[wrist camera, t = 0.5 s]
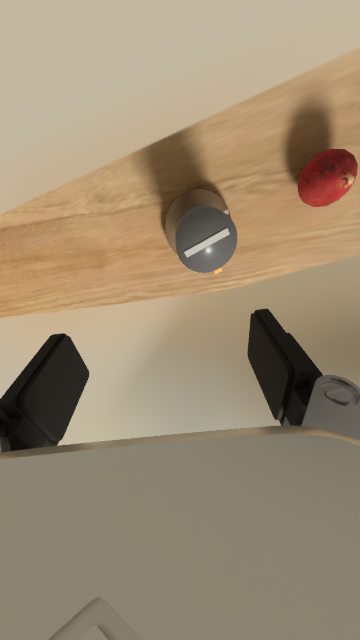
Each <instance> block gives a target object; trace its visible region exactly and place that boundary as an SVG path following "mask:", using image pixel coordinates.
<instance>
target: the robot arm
mask: <svg viewBox="0 0 360 640" xmlns="http://www.w3.org/2000/svg"><path fill="white" fill-rule="evenodd" d="M248 359H249V361H250V364H251V366H252V368H253V370H254V373H255V375H256V377H257V380H258V382H259V384H260V387H261V389H262V391H263V393H264V396H265V398H266V400H267V403H268V405H269V407H270V410H271V412H272V414H273V417H274V418H275V419H276V420H279V421H280V423H281V426H267V427H255V428H254V427H253V428H240V429H228V430H216V431H205V432H195V433H184V434H173V435H162V436H153V437H141V438H131V439H121V440H112V441H111V440H110V441H101V442H90V443H81V444H71V445H61V446H57V444H58V442H59V441H60V440H61V439H62V438H63V436H64V434H65V432H66V429H67V427H68V425H69V422H70V420H71V418H72V415H73V413H74V411H75V408H76V406H77V404H78V401H79V398H80V396H81V394H82V392H83V390H84V387H85V385H86V383H87V380H88V378H89V371H88V369H87V367H86V365H85V363H84V362H83V360H82V358H81V356H80V354H79V352H78V351H77V349H76V347H75V345H74V344H73V342H72V340H71V338H70V337H69V336H67V335H66V334H54V335H51V336H50V337H49V339H48V340H47V341H46V342H45V343H44V345H43V346H42V347H41V348H40V350H39V351H38V352H37V354H36V355H35V356H34V357H33V359H32V360H31V361H30V362H29V364H28V365H27V366H26V367H25V369H24V370H23V371H22V372H21V374H20V375H19V376H18V378H17V379H16V380H15V381H14V382H13V384H12V385H11V386H10V388H9V389H8V390H7V391H6V393H5V394H4V395H3V396H2V398H1V399H0V640H360V388H359V387H358V386H357V385H356V384H354V383H353V382H351V381H349V380H347V379H345V378H343V377H339V376H335V375H324V376H323V375H322V373H321V372H320V371H319V369H318V368H317V367H316V366H315V364H314V363H313V362H312V360H311V359H310V358H309V357H308V355H307V354H306V353H305V351H304V350H303V349H302V348H301V346H300V345H299V344H298V343H297V341H296V340H295V339H294V338H293V336H292V335H291V334H290V333H286V332H285V331H284V329H283V328H282V327H281V325H280V324H279V323H278V321H277V320H276V319H275V317H274V316H273V315H272V313H271V312H270V311H269V310H268V309H261V310H255V313H252V314H251V319H250V331H249V343H248Z"/></svg>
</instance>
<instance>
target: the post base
mask: <svg viewBox="0 0 360 640" xmlns="http://www.w3.org/2000/svg"><path fill="white" fill-rule="evenodd" d="M197 204H208V205H211V206H214V207H215V208H217V209H219V210H221V211H222V212H224V213H225V214H227V215H228V216H229V217H230V218H231V216H230V212H229V209H228V207H227V205H226V204H225V202H224V201H223V200H222V198H220V197H219V196H218V195H217V194H215V193H213V192H211V191H208V190H204V189H194V190H190V191H187V192H185V193H183V194H181V195H180V196H179V197H178V198H177V199H175V201H174V202H173V203H172V205H171V206H170V208H169V210H168V213H167V216H166V221H165V233H166V238H167V241H168V243H169V245H170V247H171V248H172V249H173V251H174V252H175V253H176V254H177V251H176V243H175V228H176V224H177V221H178V219H179V218H180V216H181V215H182V213H183V212H184V211H185V210H187V209H188V208H190V207H191V206H194V205H197ZM177 255H178V254H177Z"/></svg>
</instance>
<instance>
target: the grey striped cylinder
mask: <svg viewBox="0 0 360 640" xmlns="http://www.w3.org/2000/svg"><path fill="white" fill-rule="evenodd" d="M175 243H176V251H177V254H178V256H179V258H180V260H181V261H182V263H183V264H184V265H185V266H186V267H188V268H189V269H191V270H193V271H196V272H202V273H205V272H212V271H214V272H215V274H217V273H219V272H221V271H223V270H222V268H221V267H222V266H224V265H225V264H226V263H227V262H228V261H229V260H230V258H231V257H232V255H233V253H234V251H235V248H236V244H237V231H236V228H235V225H234V223H233V221H232V220H231V218H230V217H229V216H228V215H227V214H225V213H224V212H222V211H221V210H219V209H217V208H215V207H214V206H211V205H208V204H197V205H194V206H191V207H190V208H188V209H187V210H185V211H184V212H183V213H182V215H181V216H180V218H179V219H178V221H177V224H176V228H175Z"/></svg>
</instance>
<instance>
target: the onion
mask: <svg viewBox="0 0 360 640" xmlns="http://www.w3.org/2000/svg"><path fill="white" fill-rule="evenodd" d="M357 166H358V164H357V162H356V159H355V157H354V155H353V154H351V153H350V152H348V151H347V150H345V149H329V150H327V151H324V152H322V153H320V154H317V155H315V156H314V157H313V158H312V159H311V160H310V161H309V162H308V163H307V164H306V165H305V167H304V169H303V170H302V172H301V174H300V176H299V182H298V192H299V196H300V198H301V199H302V201H303V202H304V203H306V204H308V205H310V206H312V207H321V206H327V205H329V204H331V203H333V202H335V201H337V200H339V199H340V198H341V197H342V196H343V195H344V194H346V193H347V192H348V190H349V189H350V187H351V186H352V184H353V183H354V180H355V178H356V176H357Z"/></svg>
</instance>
